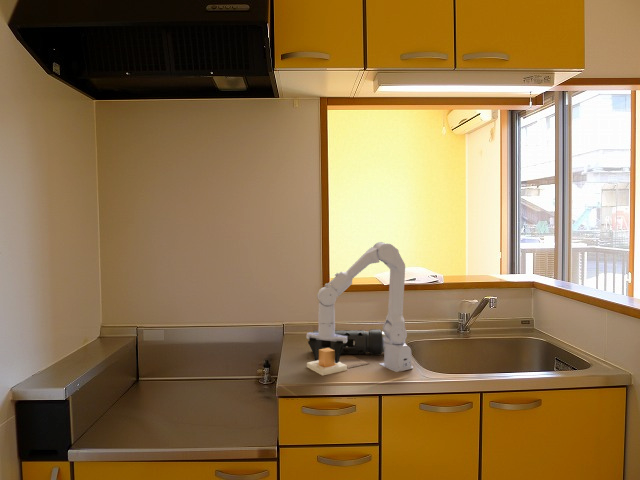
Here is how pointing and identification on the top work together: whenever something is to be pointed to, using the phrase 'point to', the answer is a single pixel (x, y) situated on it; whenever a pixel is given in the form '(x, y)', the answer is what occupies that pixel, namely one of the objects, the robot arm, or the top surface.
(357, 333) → the muzzle brake
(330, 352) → the plug
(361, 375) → the top surface
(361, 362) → the pad
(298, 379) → the top surface
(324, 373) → the socket block
